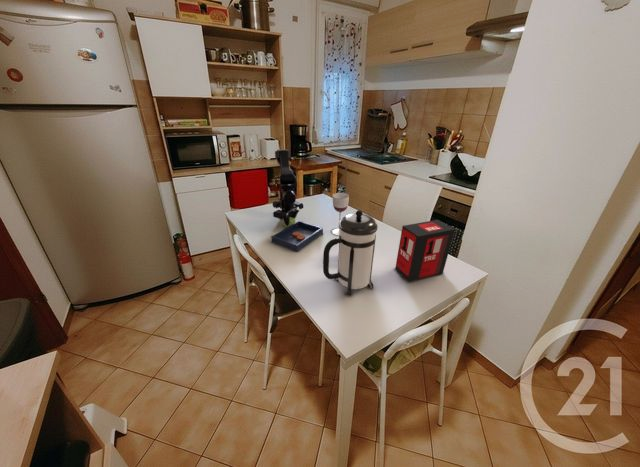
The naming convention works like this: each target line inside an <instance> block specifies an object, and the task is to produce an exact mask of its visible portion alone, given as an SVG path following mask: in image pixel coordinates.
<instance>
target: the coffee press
mask: <svg viewBox="0 0 640 467" xmlns="http://www.w3.org/2000/svg"><path fill="white" fill-rule="evenodd" d="M339 228H340V233H339V235H338V238H333V239H331V240H330V241H328V242H327V243H326V244H325V246H324V249H323V255H322V272H323V275H324V277H325V278H326V279H328V280H335V281H338V282H339V283H340V284H341V285H342V286H343V287H345V288H346V293H345V294H346V295H347V296H351V294H352V290H361V289H363V288H366V287H367V288H369V289H370V290H372V289H373V288H374V283H373V282H372V274H373V264H374V257H375V247H376V239H377V235H376V233H377V231H378V228H379V226H378V223H377V222H376V220H375V219H374V218H373V217H372V216H370V215H369V214H365V213H363V211H362V210H360V209H358V210H356V212H355V213H350V214H347V215H345V216H344V217H342V218H341V221H340V223H339V222H338V229H339ZM336 245H338V257H337V258H338V260H337V272H336V273H330V252H331V249H332V247H334V246H336Z"/></svg>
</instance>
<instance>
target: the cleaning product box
mask: <svg viewBox="0 0 640 467" xmlns="http://www.w3.org/2000/svg"><path fill="white" fill-rule="evenodd" d="M455 231H456V229H455V228H453V227H452V226H450V225H448V224H446V223H444V222H443V221H442V220H440V219H434V220H428V221H421V222H417V223H412V224H411V223H410V224H404V225H402V227H401V232H400V238H399V244H398V251H397V257H396V261H395V269H394V270H395V271H396V272H397V273H398V274H399V275H400V276H401V277H402V278H403V279H405V280H406V282H407V283H411V282H415V281H419V280H422V279H423V280H424V279H426V278H431V277H435V276H439V275H442V274H444V271H445V267H446V264H447V260H448V256H449V252H450V249H451V245H452V242H453V238H454V234H455Z"/></svg>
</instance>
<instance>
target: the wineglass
mask: <svg viewBox="0 0 640 467" xmlns="http://www.w3.org/2000/svg"><path fill="white" fill-rule="evenodd" d="M349 201H350V194H348V193H346V192H336V193H333V194H332V206H333V209H334V210H335V211H336V212H338V214H339V215H338V224H339V223H340V221H341V220H342V213H344V212H345V211H346V210H347V209H348V206H349ZM331 233H332V234H333V235H335V236H339V233H340V228H339V227H338V228H335V229H333V230H332V231H331Z"/></svg>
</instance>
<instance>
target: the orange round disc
mask: <svg viewBox="0 0 640 467" xmlns="http://www.w3.org/2000/svg"><path fill="white" fill-rule="evenodd" d="M304 239H305V236H304V235H298V236H297V240H300V241H302V240H304Z"/></svg>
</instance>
